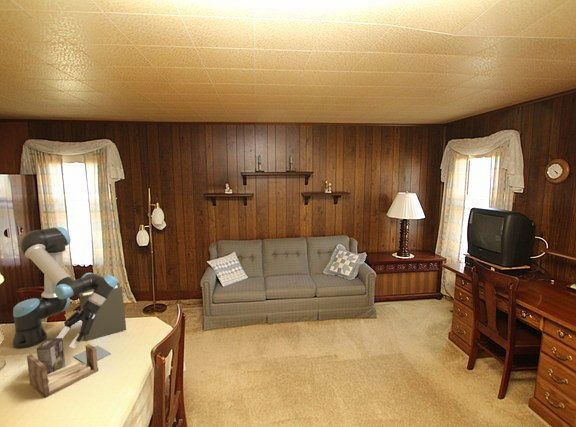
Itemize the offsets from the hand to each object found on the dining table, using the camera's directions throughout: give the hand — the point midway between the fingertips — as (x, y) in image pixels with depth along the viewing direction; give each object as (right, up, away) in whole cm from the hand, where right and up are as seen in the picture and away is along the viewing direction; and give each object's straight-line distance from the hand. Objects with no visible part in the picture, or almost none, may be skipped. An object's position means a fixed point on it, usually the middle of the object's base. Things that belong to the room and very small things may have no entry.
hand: (64, 343), depth 153 cm
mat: (+6, -12, +13) cm, 18 cm away
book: (-2, -9, +36) cm, 37 cm away
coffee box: (-4, -14, -2) cm, 15 cm away
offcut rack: (+4, -14, -5) cm, 15 cm away
